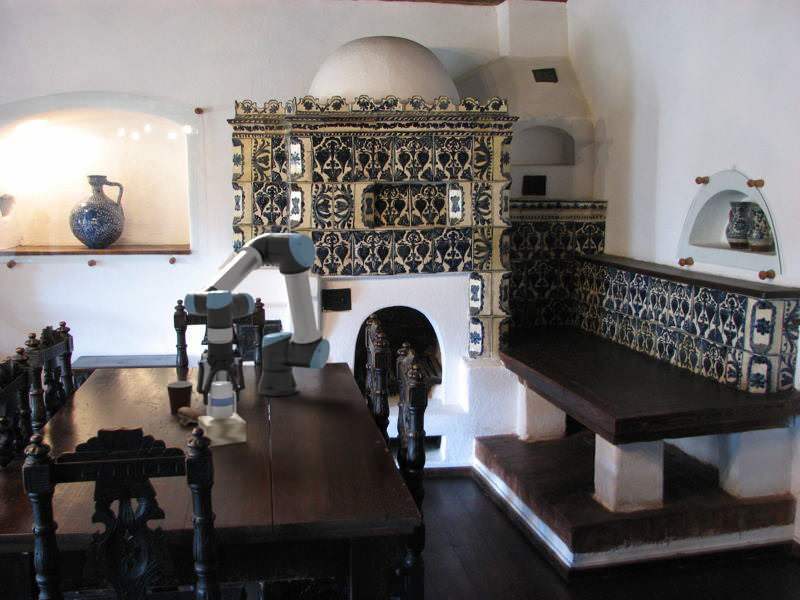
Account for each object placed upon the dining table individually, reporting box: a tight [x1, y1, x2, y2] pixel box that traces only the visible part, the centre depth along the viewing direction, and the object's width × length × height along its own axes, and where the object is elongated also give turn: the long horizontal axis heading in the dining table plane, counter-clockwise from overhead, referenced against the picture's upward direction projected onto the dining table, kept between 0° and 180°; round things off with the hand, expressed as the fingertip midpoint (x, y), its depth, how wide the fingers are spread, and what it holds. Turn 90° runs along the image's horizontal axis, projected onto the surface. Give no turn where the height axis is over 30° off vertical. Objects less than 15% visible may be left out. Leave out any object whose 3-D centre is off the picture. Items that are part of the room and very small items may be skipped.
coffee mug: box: [166, 381, 194, 416], centre depth 265 cm, size 12×9×10 cm
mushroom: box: [178, 406, 201, 426], centre depth 249 cm, size 8×8×6 cm
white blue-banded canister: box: [209, 381, 234, 419], centre depth 233 cm, size 7×7×10 cm
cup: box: [202, 352, 228, 385], centre depth 306 cm, size 9×9×12 cm
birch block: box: [197, 412, 247, 447], centre depth 234 cm, size 12×12×6 cm
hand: (221, 413), depth 234 cm, fingers closed on white blue-banded canister, 7 cm apart
